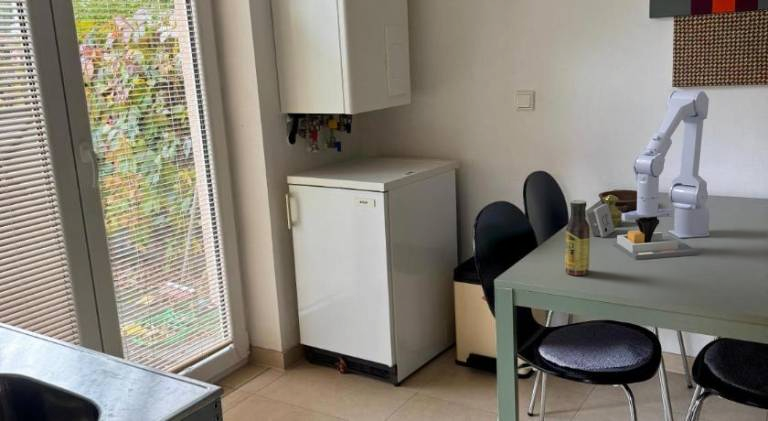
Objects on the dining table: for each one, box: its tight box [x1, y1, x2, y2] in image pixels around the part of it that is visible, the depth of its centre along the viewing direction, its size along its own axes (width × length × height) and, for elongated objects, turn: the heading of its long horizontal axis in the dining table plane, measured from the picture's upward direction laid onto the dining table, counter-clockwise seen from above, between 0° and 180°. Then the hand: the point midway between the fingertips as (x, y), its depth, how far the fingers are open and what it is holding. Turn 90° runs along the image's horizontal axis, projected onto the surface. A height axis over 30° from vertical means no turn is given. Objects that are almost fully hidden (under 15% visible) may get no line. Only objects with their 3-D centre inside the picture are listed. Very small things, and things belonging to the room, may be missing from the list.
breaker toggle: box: [627, 229, 645, 244], centre depth 207 cm, size 3×4×4 cm, turn 5°
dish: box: [598, 189, 637, 213], centre depth 259 cm, size 18×22×5 cm
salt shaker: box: [603, 195, 623, 228], centre depth 236 cm, size 7×7×10 cm
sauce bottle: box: [564, 199, 591, 276], centre depth 189 cm, size 6×6×20 cm
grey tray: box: [612, 231, 699, 261], centre depth 208 cm, size 18×16×4 cm
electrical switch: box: [586, 204, 615, 239], centre depth 226 cm, size 9×5×9 cm, turn 141°
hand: (646, 242), depth 207 cm, fingers closed
